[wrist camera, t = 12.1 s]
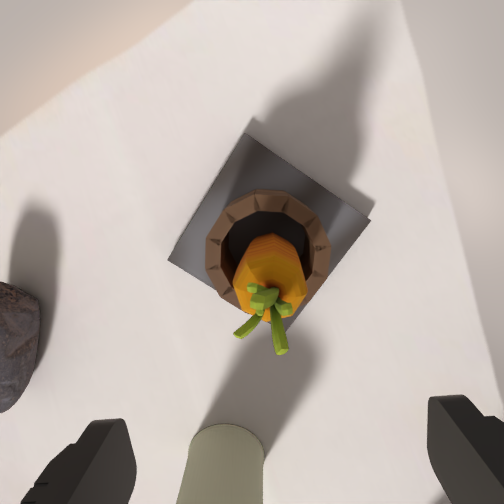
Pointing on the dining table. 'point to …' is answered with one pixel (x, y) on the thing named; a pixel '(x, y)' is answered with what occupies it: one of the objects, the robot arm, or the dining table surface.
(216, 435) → the can
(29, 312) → the perforated stone tool
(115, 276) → the dining table surface
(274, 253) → the carrot
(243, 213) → the holder
